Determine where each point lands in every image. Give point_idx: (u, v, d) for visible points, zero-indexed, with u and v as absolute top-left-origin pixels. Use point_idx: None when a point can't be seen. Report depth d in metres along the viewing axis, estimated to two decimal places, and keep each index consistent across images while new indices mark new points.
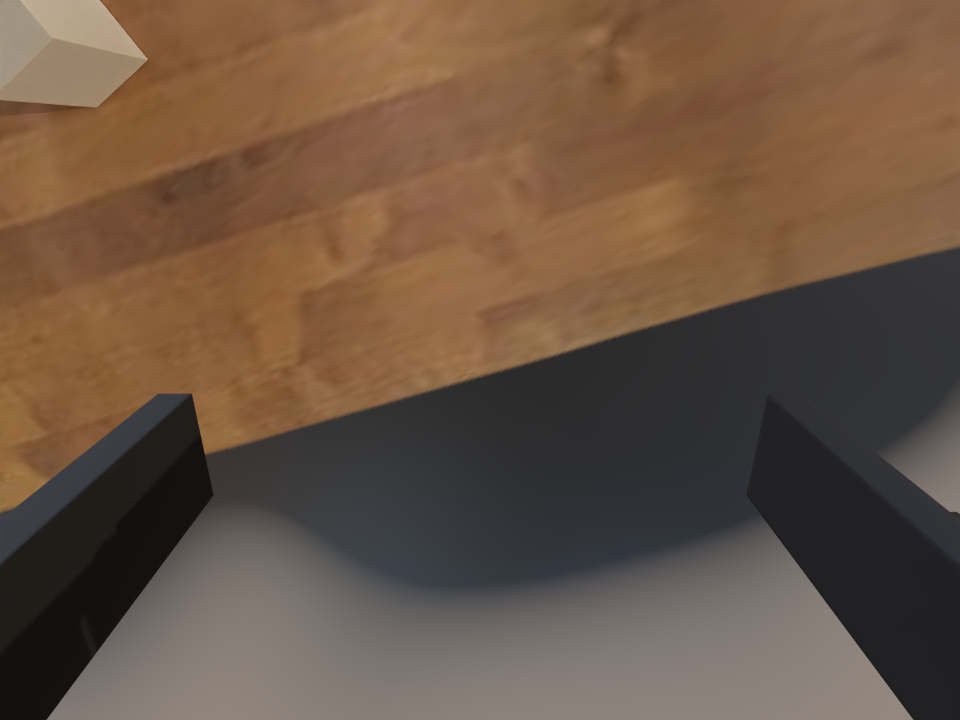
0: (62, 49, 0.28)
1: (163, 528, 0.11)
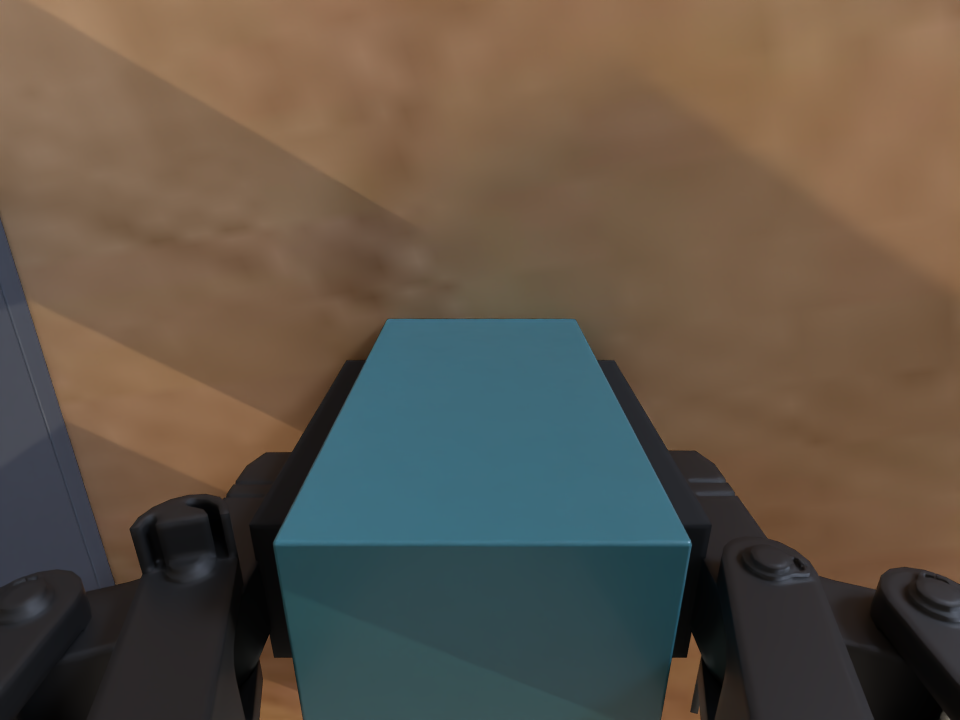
0: None
1: None
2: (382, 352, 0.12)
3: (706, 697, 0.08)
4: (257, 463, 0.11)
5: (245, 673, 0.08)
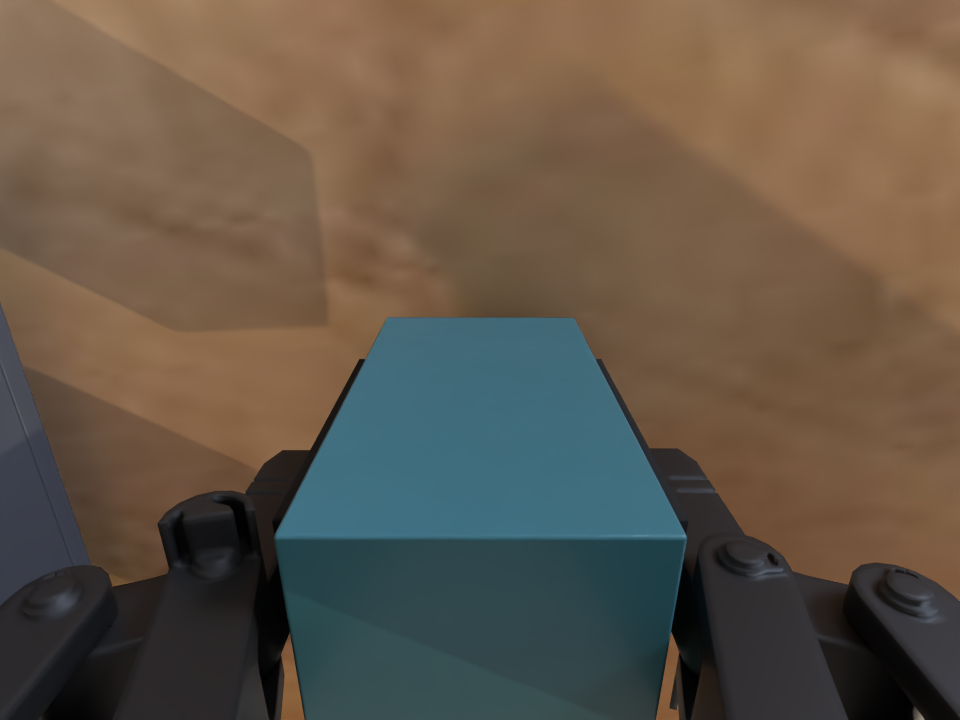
0: None
1: None
2: (382, 350, 0.12)
3: (683, 693, 0.08)
4: (274, 461, 0.11)
5: (269, 668, 0.08)
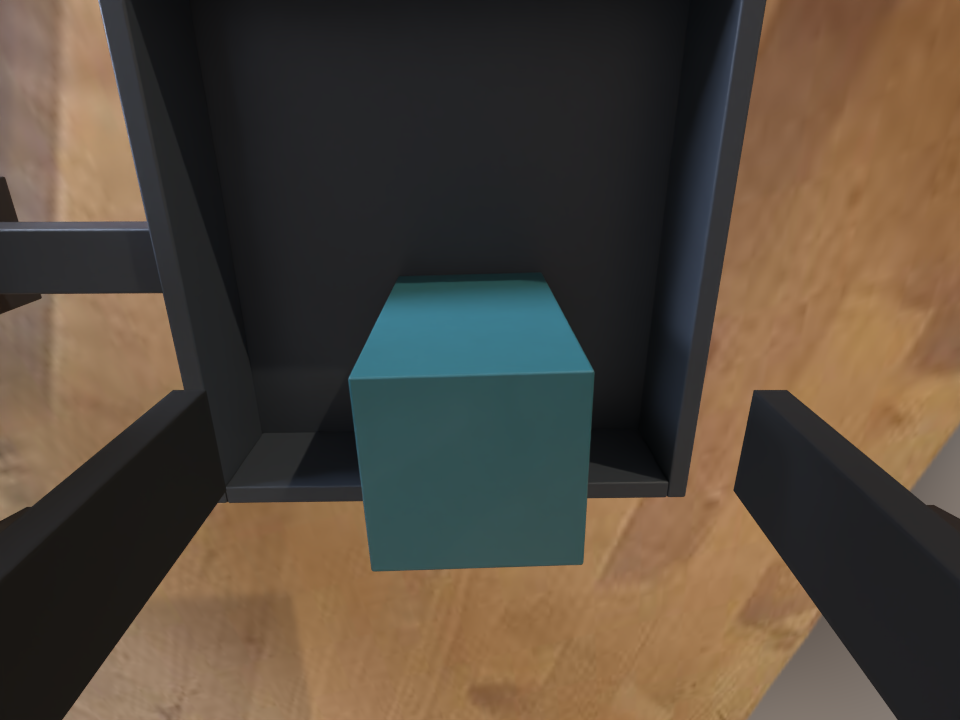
0: None
1: (179, 522, 0.11)
2: (398, 294, 0.16)
3: None
4: (6, 522, 0.09)
5: None
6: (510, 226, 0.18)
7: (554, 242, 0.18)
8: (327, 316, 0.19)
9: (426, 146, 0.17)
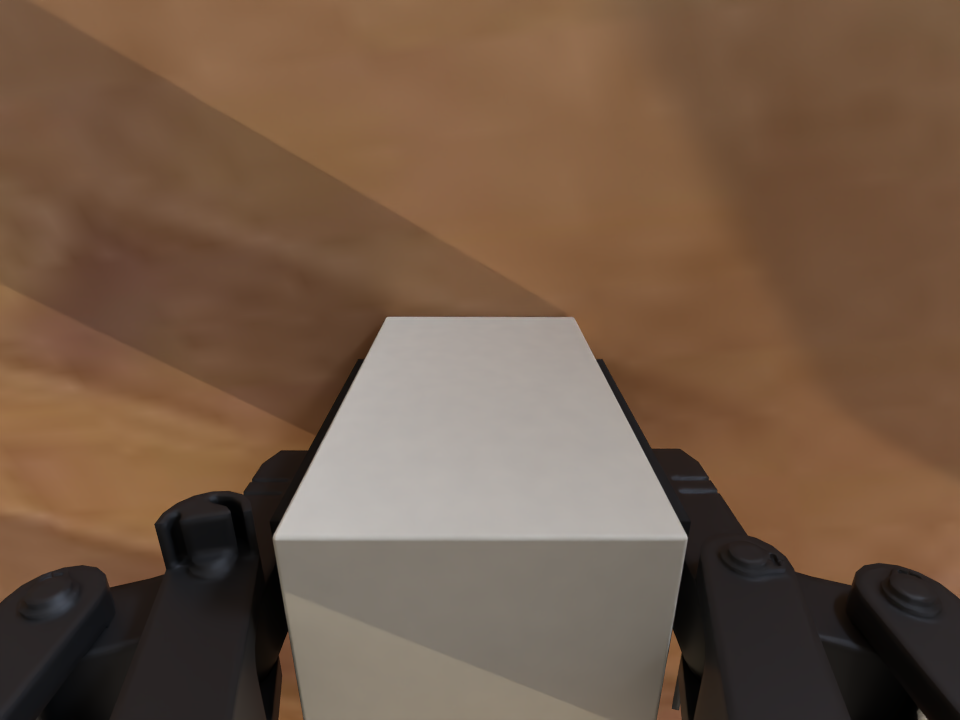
0: None
1: None
2: None
3: (686, 694, 0.08)
4: (273, 461, 0.11)
5: (267, 668, 0.08)
6: None
7: None
8: None
9: None
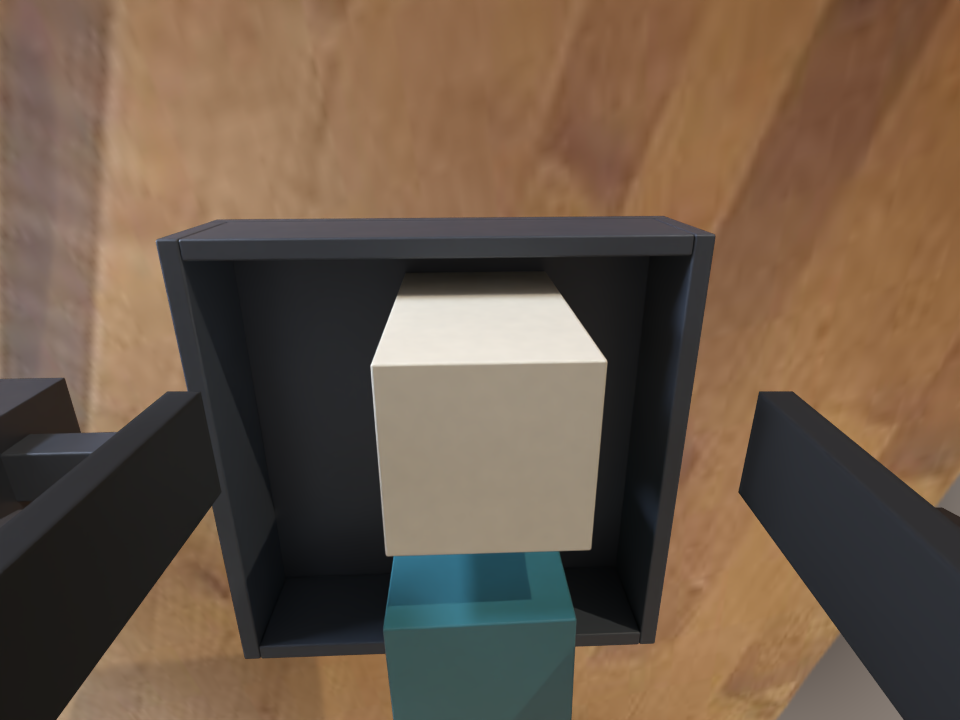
0: None
1: (173, 524, 0.11)
2: None
3: None
4: None
5: None
6: None
7: None
8: (344, 484, 0.22)
9: None
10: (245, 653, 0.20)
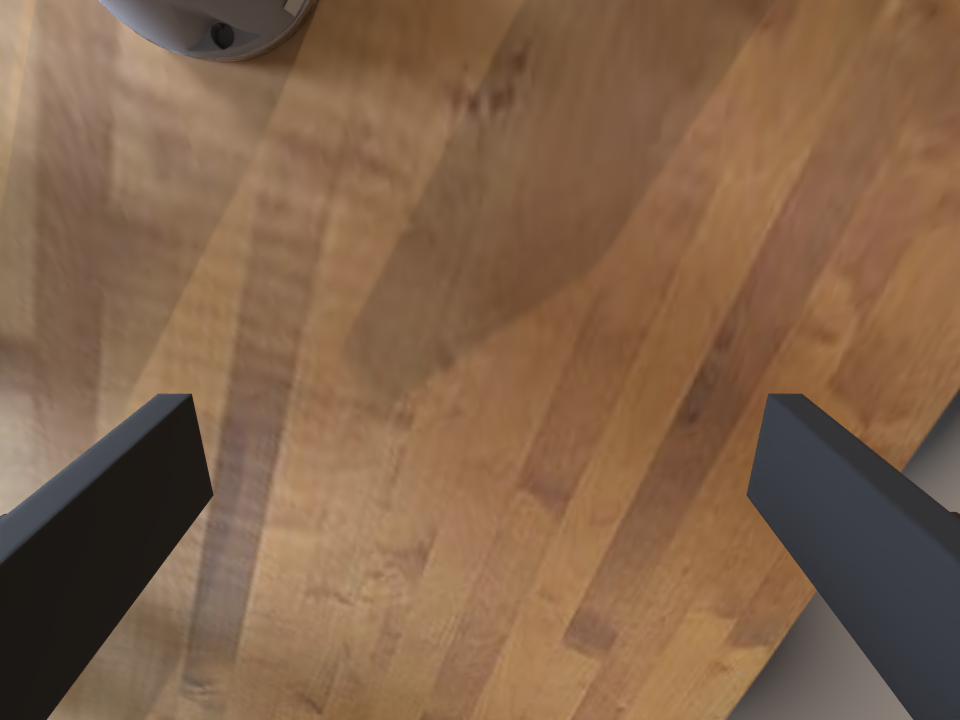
0: None
1: (163, 528, 0.11)
2: None
3: None
4: None
5: None
6: None
7: None
8: None
9: None
10: None
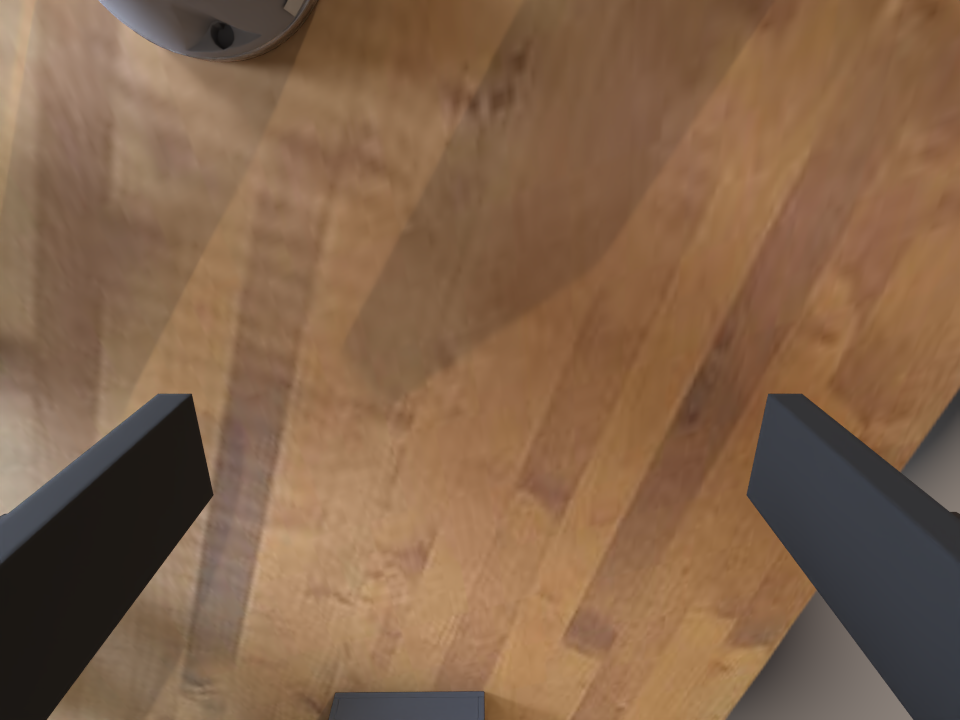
0: None
1: (163, 528, 0.11)
2: None
3: None
4: None
5: None
6: None
7: None
8: None
9: None
10: None
